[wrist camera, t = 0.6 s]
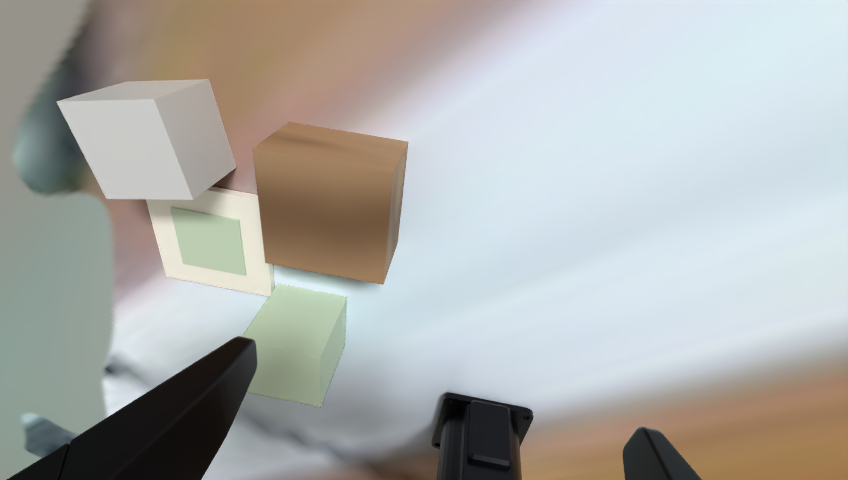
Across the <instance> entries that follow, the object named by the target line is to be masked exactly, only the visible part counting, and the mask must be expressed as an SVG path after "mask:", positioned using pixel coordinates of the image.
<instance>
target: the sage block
mask: <svg viewBox="0 0 848 480" xmlns="http://www.w3.org/2000/svg"><path fill="white" fill-rule="evenodd" d="M346 309H347V297H346V296H341V295H336V294H330V293H325V292H320V291H315V290H310V289H305V288H299V287H294V286H289V285H284V284H279V283H278V285H277V286H276V288H275V289H274V291H273V292H272V294H271V295H270V296H269V298H268V299H267V301H266V302H265V304H264V305H263V307H262V308H261V310H260V311H259V312H258V314H257V315H256V317H255V318H254V320H253V321H252V323H251V324H250V326H249V327H248V328H247V330H246V331H245V333H244V334H243V336H242V337H246V338H250V339H253V340H255V342H256V349H257V369H256V372H255V375H254V377H253V379H252V381H251V383H250V386H249V388H248V390H247V391H248V393H253V394H258V395H263V396H268V397H273V398H278V399H283V400H288V401H292V402H297V403H302V404H307V405H312V406H317V407H321V405H322V403H323V400H324V398H325V395H326V393H327V390H328V387H329V385H330V382H331V380H332V377H333V375H334V372H335V369H336V367H337V364H338V362H339V359H340V357H341V354H342V351H343V349H344V346H345V332H346Z"/></svg>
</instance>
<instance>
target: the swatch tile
mask: <svg viewBox="0 0 848 480" xmlns="http://www.w3.org/2000/svg"><path fill="white" fill-rule="evenodd" d="M146 202H147V206H148V209H149V213H150V217H151V221H152V224H153V228H154V232H155V236H156V239H157V243H158V247H159V251H160V254H161V258H162V262H163V265H164V269H165V273H166V277H171V278H176V279H182V280H187V281H192V282H197V283H202V284H207V285H212V286H217V287H223V288H228V289H233V290H238V291H243V292H248V293H253V294H258V295H264V296H270V295H271V294H272V292H273V291H274V289H275V285H274V273H273V264H268V263H265V256H264V247H263V238H262V229H261V220H260V211H259V202H258V195H255V194H250V193H244V192H239V191H234V190H228V189H223V188H218V187H212V186H211V187H210V188H208V189H207V190H206V191H204V192H203V193H202V194H200V195H199V196H198V197H196V198H195V199H194V200H166V199H146Z"/></svg>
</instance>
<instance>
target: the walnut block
mask: <svg viewBox="0 0 848 480" xmlns="http://www.w3.org/2000/svg"><path fill="white" fill-rule="evenodd" d="M407 149H408V142H406V141H400V140H394V139H388V138H382V137H376V136H370V135H364V134H358V133H352V132H346V131H340V130H334V129H328V128H322V127H316V126H310V125H304V124H298V123H292V122H289V123H287V124H286V125H285V126H283V127H282V128H280V129H279V130H278V131H276V132H275V133H273V134H272V135H271V136H269V137H268V138H267V139H265V140H264V141H262V142H261V143H260V144H258V145H257V146H255V147H254V148H253V156H254V165H255V175H256V184H257V193H258V202H259V211H260V220H261V229H262V238H263V247H264V256H265V263H268V264H273V265H279V266H284V267H290V268H295V269H301V270H306V271H312V272H317V273H323V274H328V275H334V276H339V277H345V278H350V279H356V280H361V281H367V282H372V283H378V284H384V281H385V278H386V275H387V272H388V269H389V266H390V263H391V260H392V258H393V255H394V252H395V249H396V246H397V243H398V233H399V224H400V215H401V205H402V196H403V186H404V177H405V168H406V158H407Z"/></svg>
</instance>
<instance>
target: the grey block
mask: <svg viewBox="0 0 848 480" xmlns="http://www.w3.org/2000/svg"><path fill="white" fill-rule="evenodd" d="M57 104H58V105H59V107H60V109H61V111H62V113H63V115H64V117H65V119H66V121H67V123H68V125H69V127H70V129H71V131H72V133H73V135H74V136H75V138H76V140H77V142H78V144H79V146H80V148H81V150H82V152H83V154H84V156H85V158H86V160H87V162H88V164H89V166H90V167H91V169H92V171H93V173H94V175H95V177H96V179H97V181H98V183H99V185H100V187H101V189H102V191H103V193H104V195H105V196H106V198H107V199H166V200H194V199H195V198H196V197H198V196H199V195H200V194H202V193H203V192H204V191H206V190H207V189H208V188H210V187H211V186H212V185H214V184H215V183H216V182H218V181H219V180H220V179H222V178H223V177H224V176H226V175H227V174H228V173H230V172H231V171H232V170H234V169H235V168H236V164H235V161H234V158H233V155H232V151H231V148H230V145H229V142H228V139H227V135H226V132H225V129H224V126H223V123H222V119H221V116H220V113H219V110H218V107H217V104H216V100H215V97H214V94H213V91H212V88H211V84H210V81H209V79H202V80H170V81H139V82H124V83H120V84H117V85H113V86H109V87H106V88H102V89H99V90H95V91H92V92H88V93H85V94H81V95H78V96H74V97H71V98H67V99H64V100H60V101H57Z"/></svg>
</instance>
